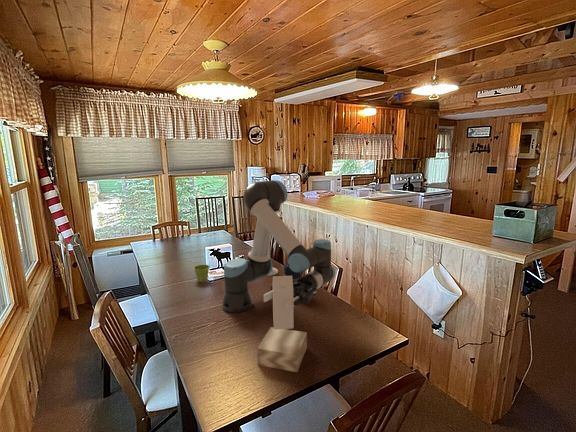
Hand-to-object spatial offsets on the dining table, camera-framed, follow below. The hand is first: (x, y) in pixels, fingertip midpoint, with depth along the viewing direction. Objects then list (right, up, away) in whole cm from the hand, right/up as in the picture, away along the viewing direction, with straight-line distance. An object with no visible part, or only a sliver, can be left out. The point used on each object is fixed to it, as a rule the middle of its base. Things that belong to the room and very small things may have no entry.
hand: (275, 302), depth 114 cm
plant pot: (-48, -9, +81) cm, 94 cm away
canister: (+7, -12, +62) cm, 64 cm away
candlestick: (-8, -6, +94) cm, 95 cm away
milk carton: (+3, -10, +5) cm, 12 cm away
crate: (+3, -23, +8) cm, 24 cm away
